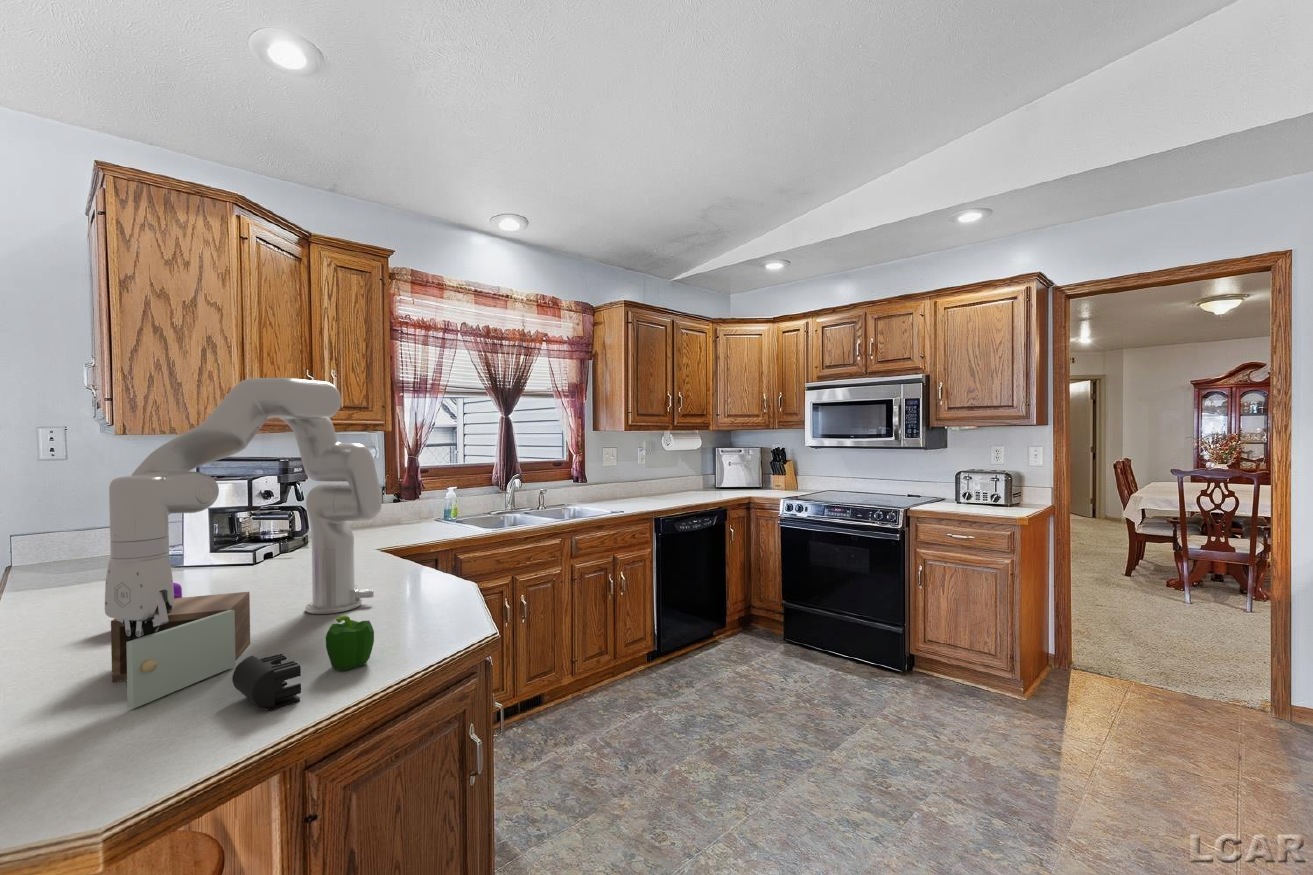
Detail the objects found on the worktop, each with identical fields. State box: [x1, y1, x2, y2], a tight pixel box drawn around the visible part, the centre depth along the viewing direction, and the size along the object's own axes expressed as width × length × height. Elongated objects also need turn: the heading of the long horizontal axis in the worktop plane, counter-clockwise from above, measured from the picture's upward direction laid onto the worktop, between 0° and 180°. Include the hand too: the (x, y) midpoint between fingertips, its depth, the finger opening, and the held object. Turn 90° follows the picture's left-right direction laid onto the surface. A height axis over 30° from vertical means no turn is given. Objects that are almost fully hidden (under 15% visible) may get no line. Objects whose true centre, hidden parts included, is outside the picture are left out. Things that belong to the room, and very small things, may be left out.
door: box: [126, 610, 237, 709], centre depth 106 cm, size 18×2×11 cm, turn 166°
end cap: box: [231, 653, 302, 712], centre depth 100 cm, size 10×7×7 cm
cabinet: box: [110, 591, 251, 683], centre depth 119 cm, size 18×14×11 cm
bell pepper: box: [325, 615, 375, 671], centre depth 115 cm, size 8×8×10 cm
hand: (142, 657), depth 102 cm, fingers closed
